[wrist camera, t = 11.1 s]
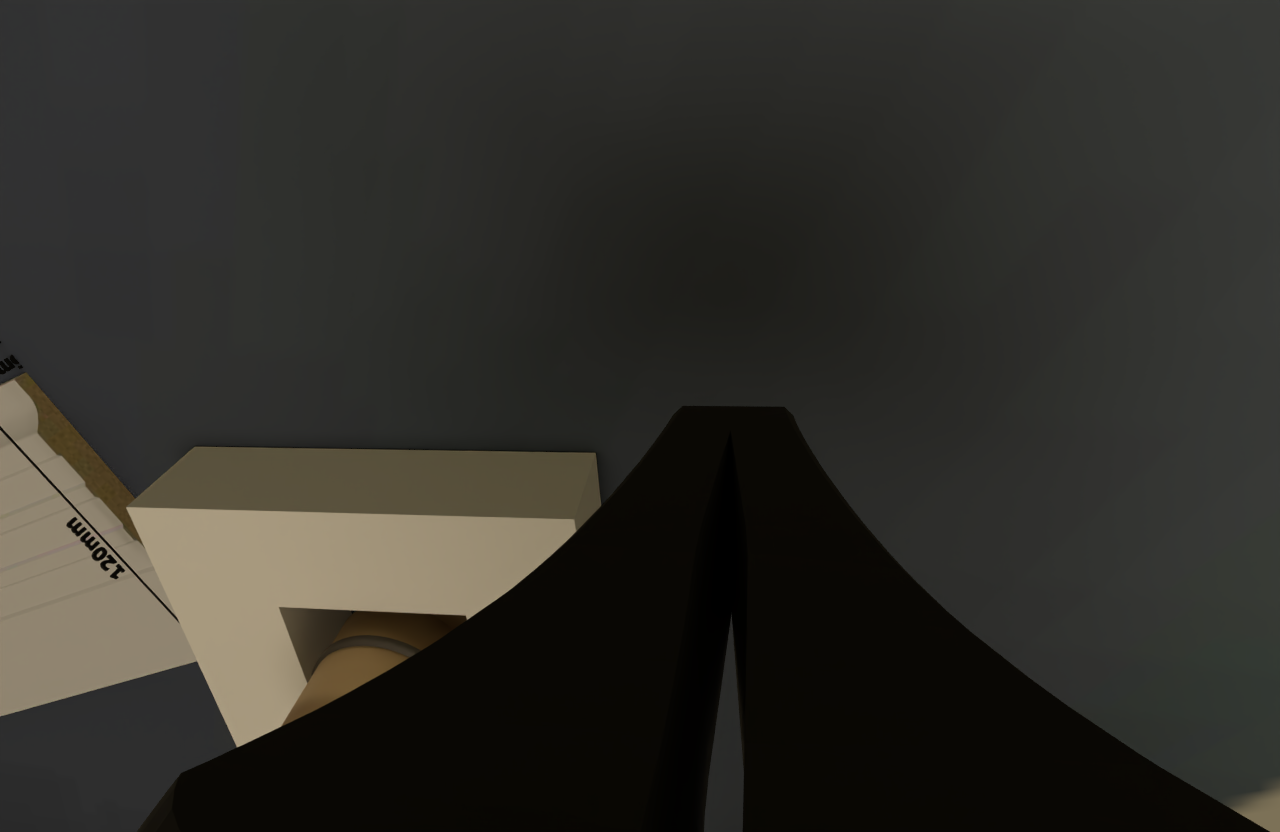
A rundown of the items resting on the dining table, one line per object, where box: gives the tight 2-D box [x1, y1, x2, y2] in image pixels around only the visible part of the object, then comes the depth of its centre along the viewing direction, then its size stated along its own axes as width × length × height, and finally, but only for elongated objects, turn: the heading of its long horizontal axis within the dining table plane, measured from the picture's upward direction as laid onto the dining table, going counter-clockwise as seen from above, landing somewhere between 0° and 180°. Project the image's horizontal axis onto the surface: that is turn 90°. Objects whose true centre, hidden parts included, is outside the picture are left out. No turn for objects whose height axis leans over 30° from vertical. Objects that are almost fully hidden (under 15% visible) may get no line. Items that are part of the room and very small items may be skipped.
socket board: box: [126, 447, 601, 747], centre depth 24 cm, size 12×12×3 cm
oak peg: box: [282, 611, 467, 726], centre depth 22 cm, size 4×4×9 cm
